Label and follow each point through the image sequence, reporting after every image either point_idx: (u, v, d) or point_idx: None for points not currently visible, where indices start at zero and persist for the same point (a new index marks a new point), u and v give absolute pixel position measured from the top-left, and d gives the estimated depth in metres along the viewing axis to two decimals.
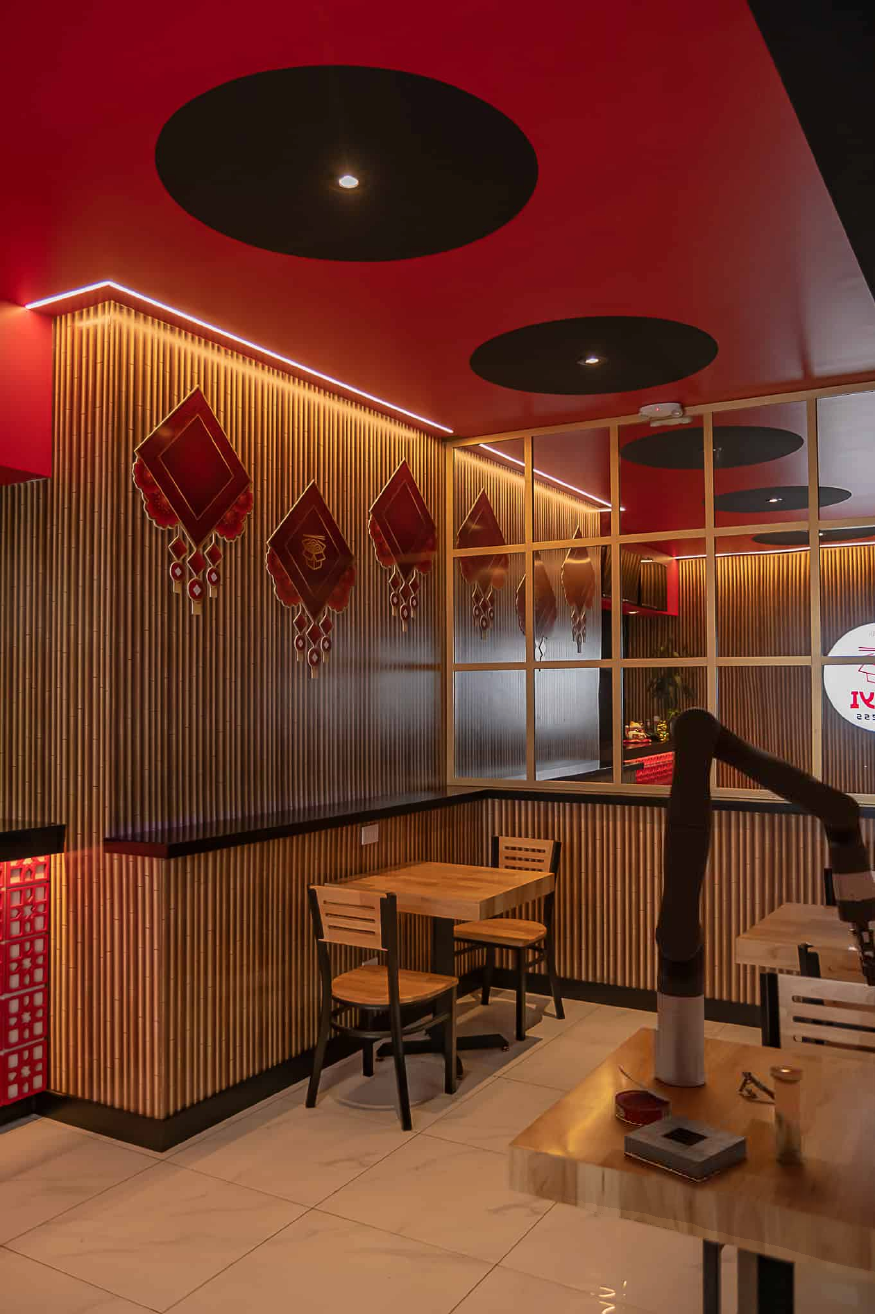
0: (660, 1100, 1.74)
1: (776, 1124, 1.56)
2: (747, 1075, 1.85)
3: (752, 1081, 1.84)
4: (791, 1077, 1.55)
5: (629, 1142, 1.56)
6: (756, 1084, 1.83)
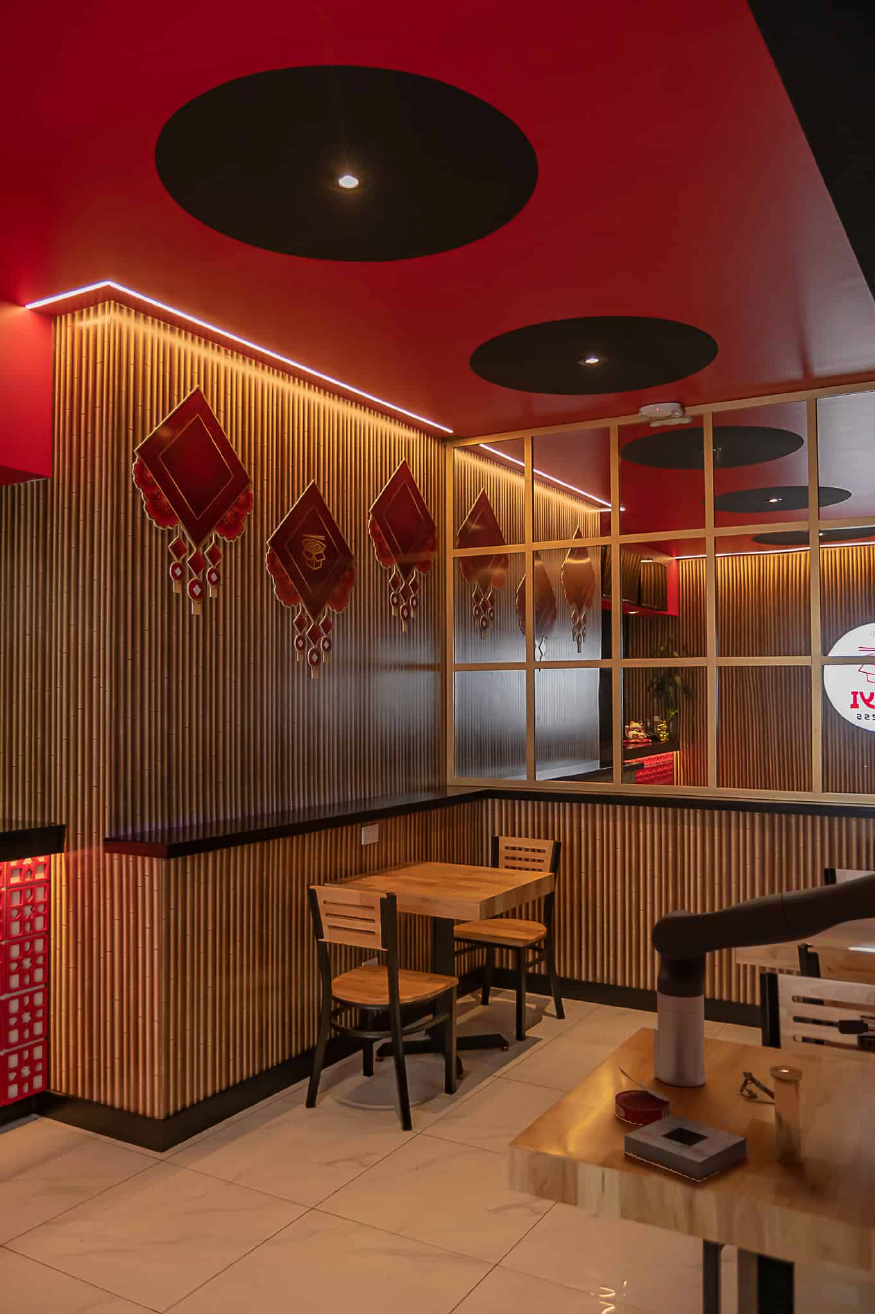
0: (660, 1100, 1.74)
1: (776, 1124, 1.56)
2: (748, 1075, 1.85)
3: (753, 1081, 1.84)
4: (791, 1077, 1.55)
5: (629, 1142, 1.56)
6: (757, 1084, 1.83)
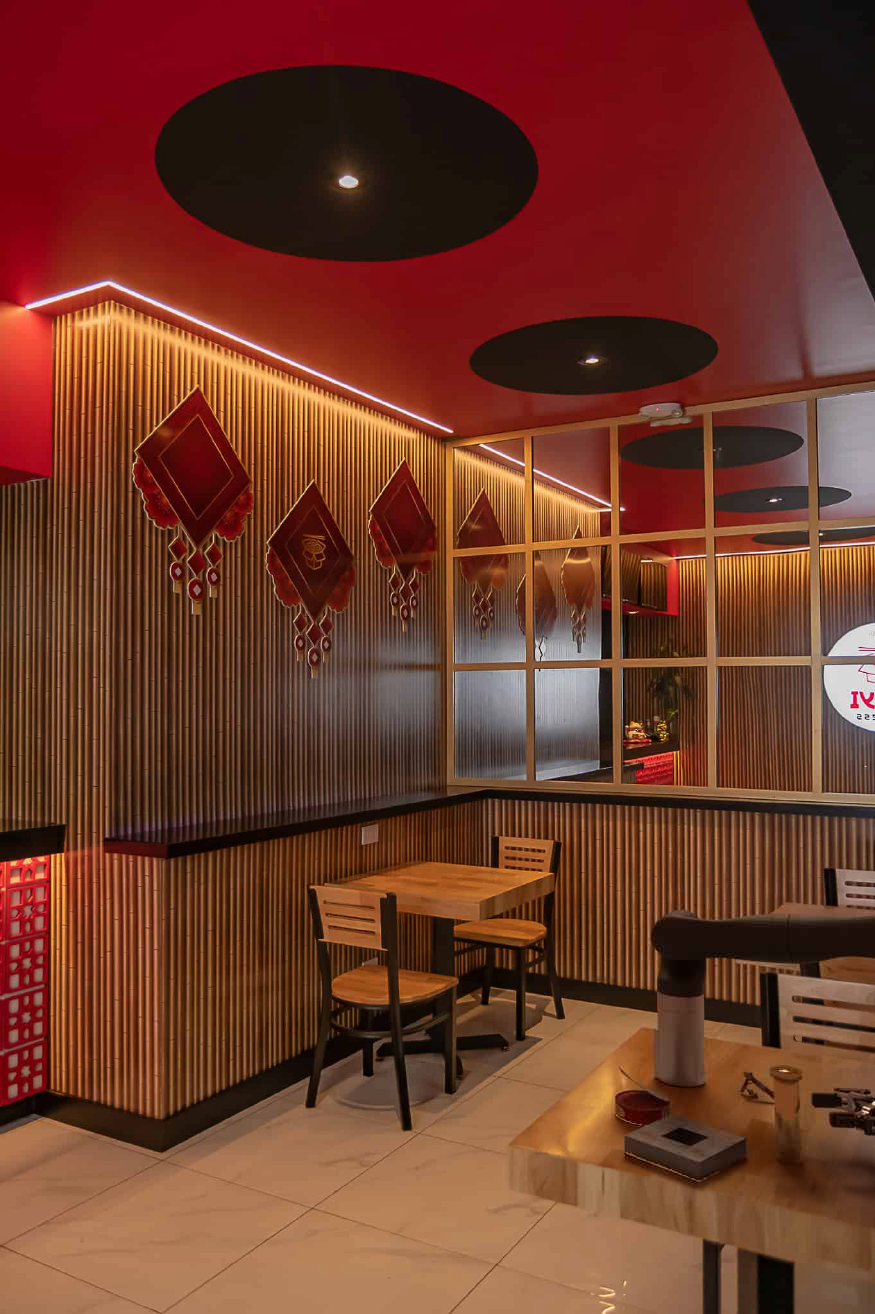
0: (660, 1100, 1.74)
1: (776, 1124, 1.56)
2: (748, 1075, 1.85)
3: (753, 1081, 1.84)
4: (791, 1077, 1.55)
5: (629, 1142, 1.56)
6: (757, 1084, 1.83)
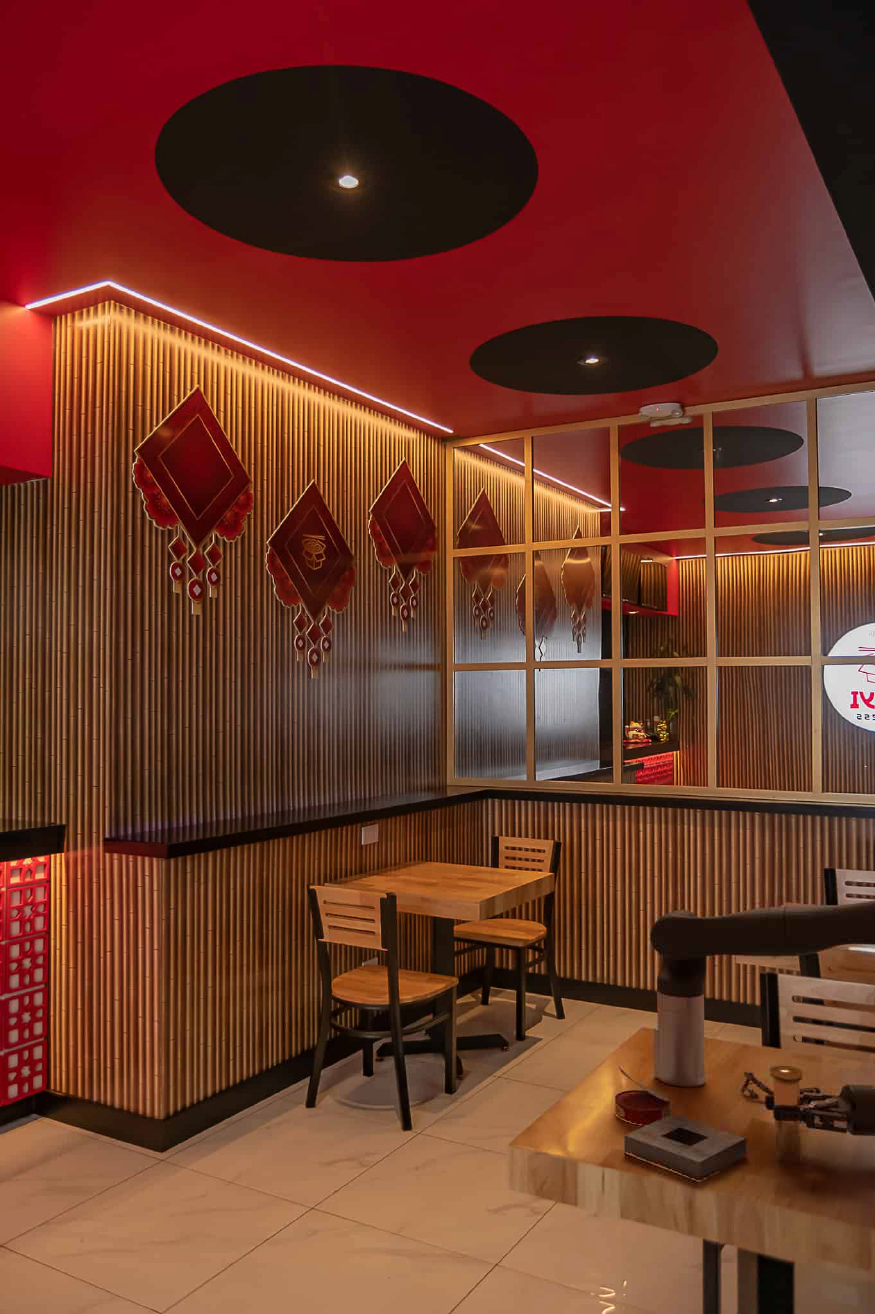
0: (660, 1100, 1.74)
1: (776, 1124, 1.56)
2: (749, 1076, 1.85)
3: (754, 1082, 1.84)
4: (791, 1077, 1.55)
5: (629, 1142, 1.56)
6: (758, 1085, 1.83)
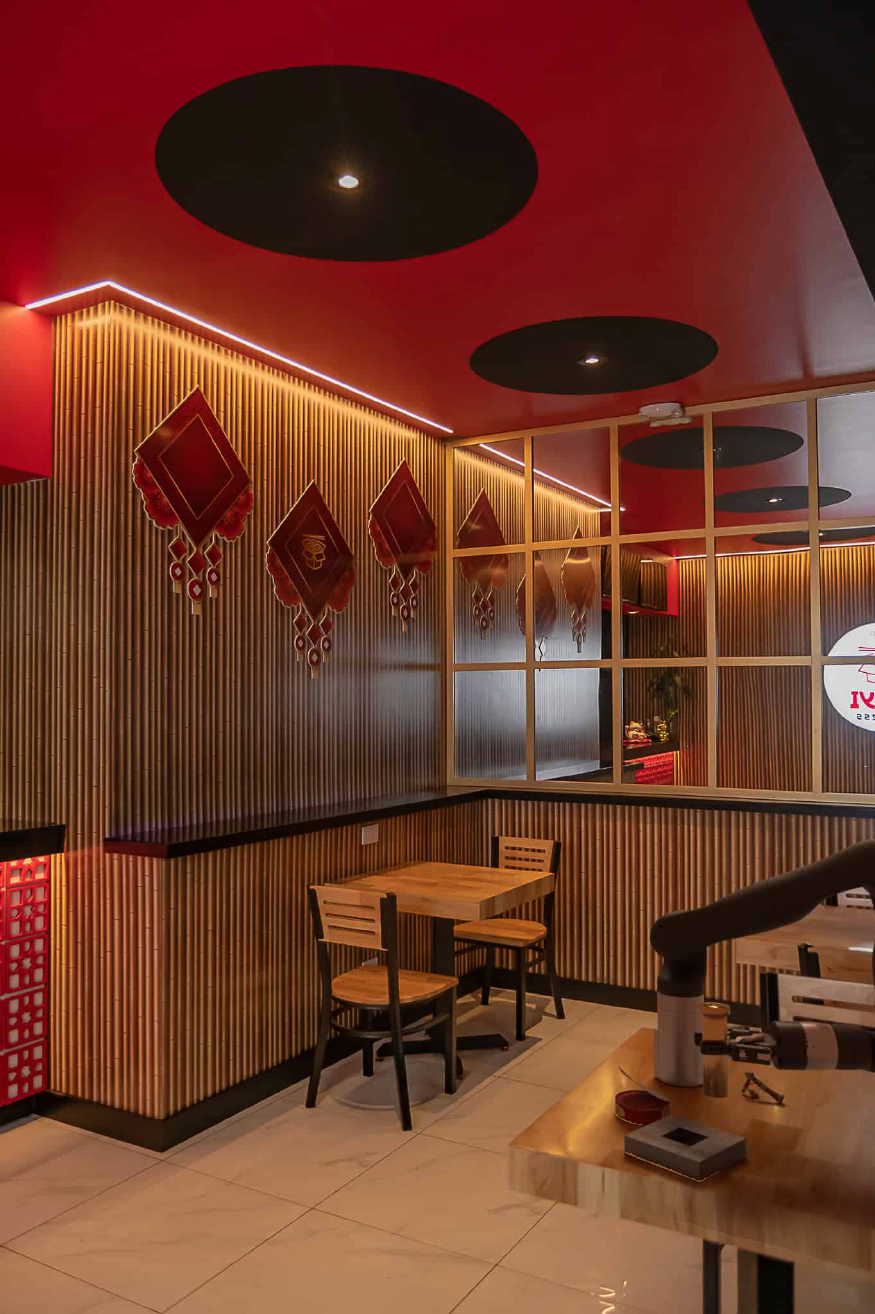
0: (660, 1100, 1.74)
1: (703, 1059, 1.58)
2: (750, 1076, 1.85)
3: (755, 1082, 1.84)
4: (718, 1012, 1.56)
5: (629, 1142, 1.56)
6: (759, 1085, 1.83)
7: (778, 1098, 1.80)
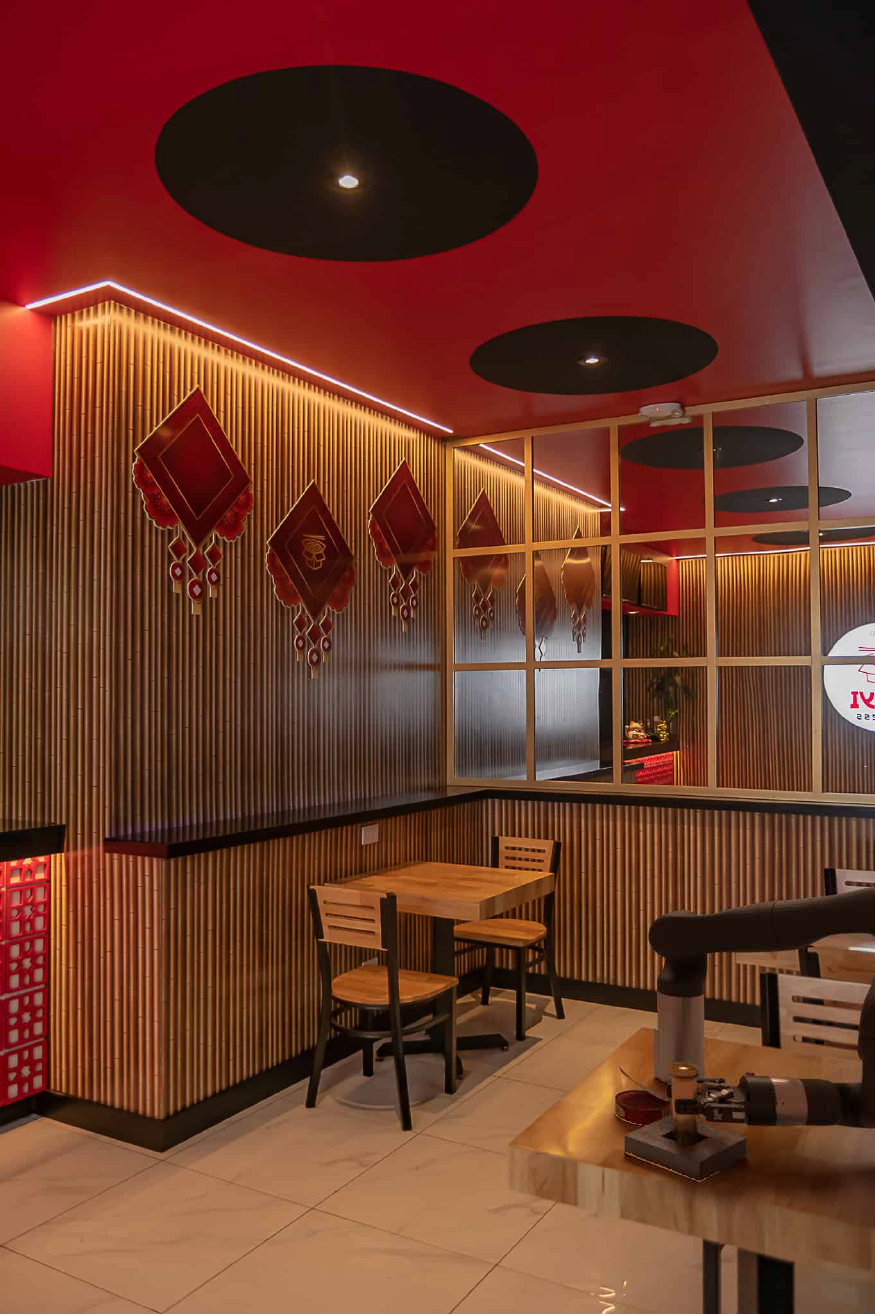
0: (660, 1100, 1.74)
1: (673, 1121, 1.57)
2: None
3: None
4: (687, 1074, 1.56)
5: (629, 1142, 1.56)
6: None
7: None
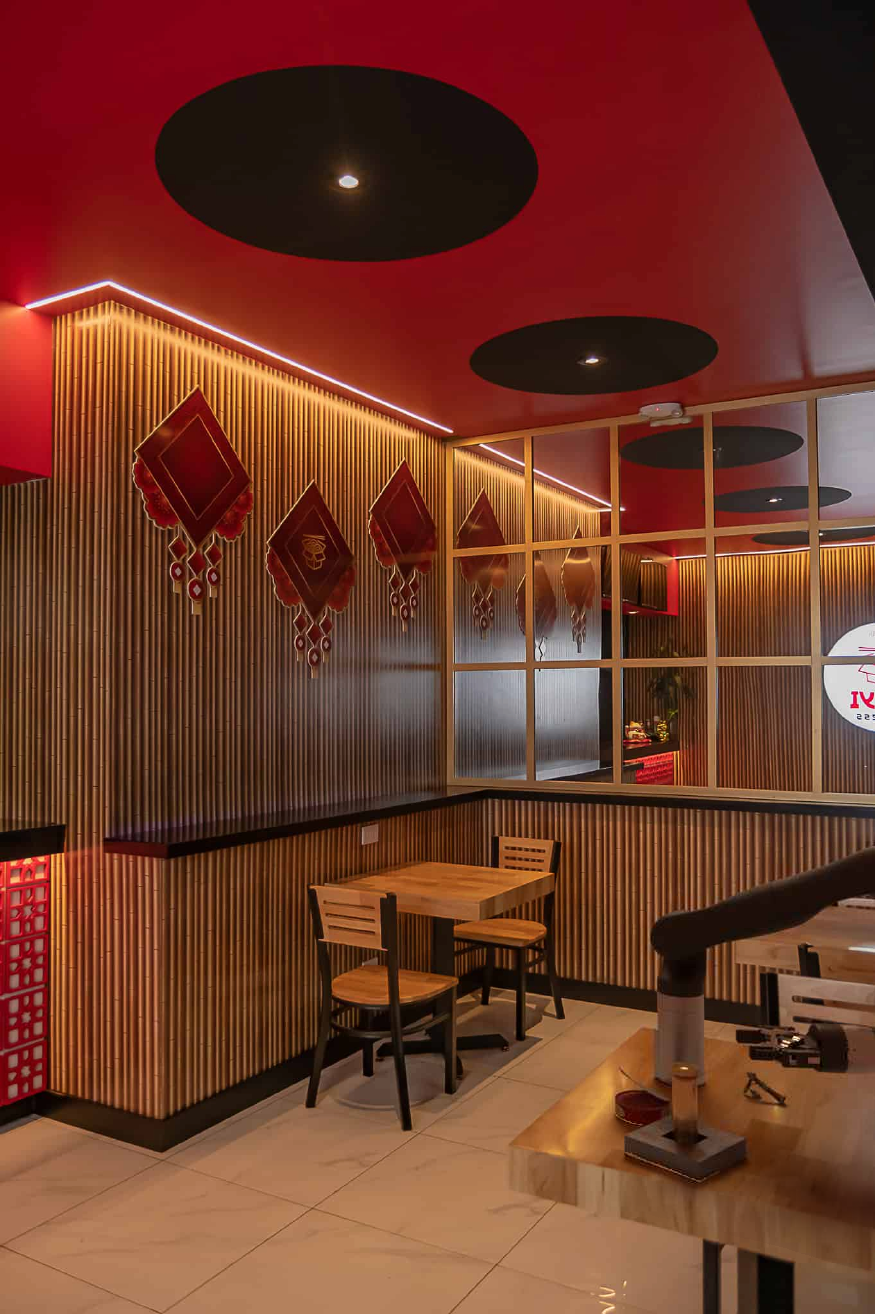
0: (660, 1100, 1.74)
1: (673, 1121, 1.57)
2: (751, 1076, 1.84)
3: (756, 1082, 1.84)
4: (687, 1074, 1.56)
5: (629, 1142, 1.56)
6: (760, 1085, 1.83)
7: (780, 1099, 1.80)
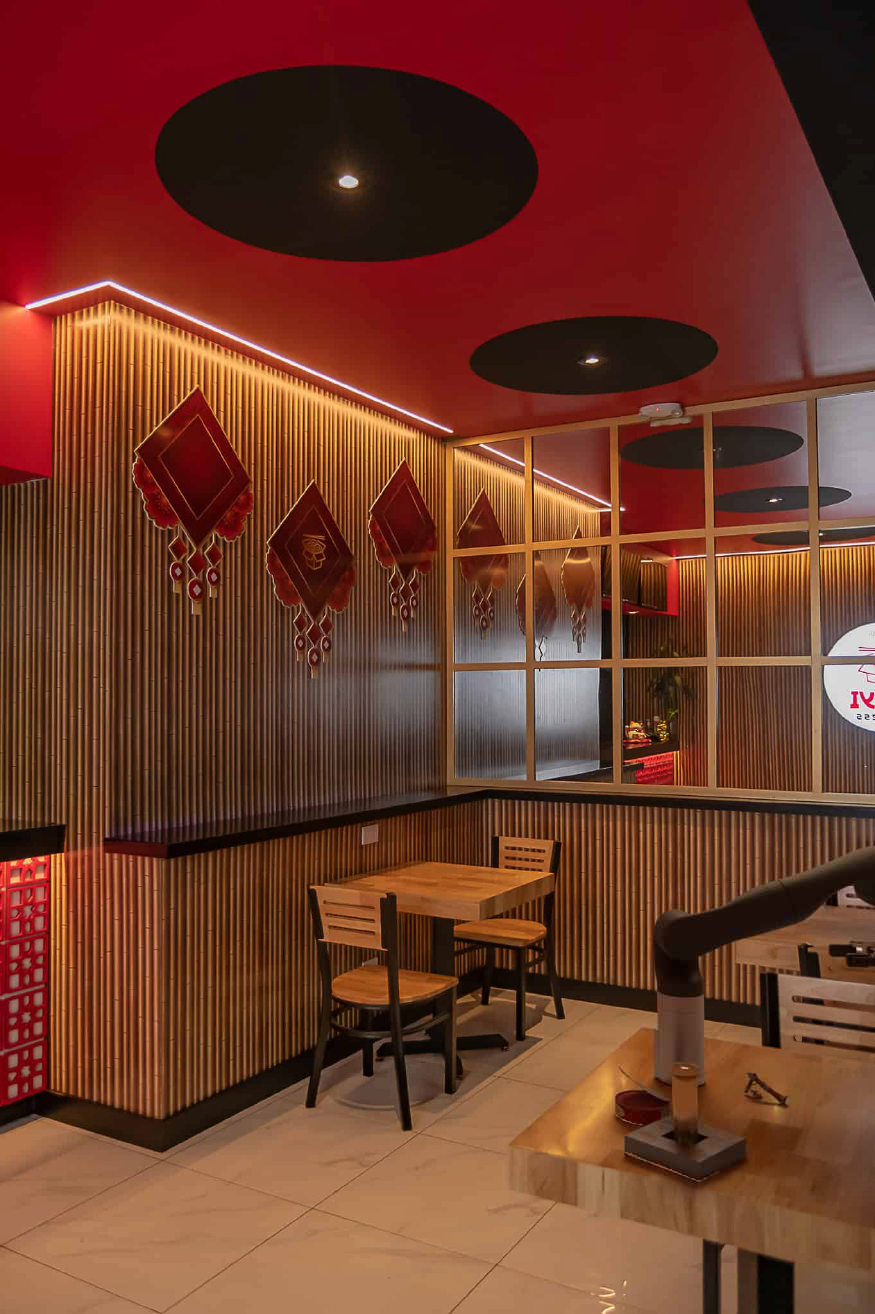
0: (660, 1100, 1.74)
1: (673, 1121, 1.57)
2: (752, 1076, 1.84)
3: (757, 1082, 1.84)
4: (687, 1074, 1.56)
5: (629, 1142, 1.56)
6: (761, 1085, 1.83)
7: (781, 1099, 1.80)
